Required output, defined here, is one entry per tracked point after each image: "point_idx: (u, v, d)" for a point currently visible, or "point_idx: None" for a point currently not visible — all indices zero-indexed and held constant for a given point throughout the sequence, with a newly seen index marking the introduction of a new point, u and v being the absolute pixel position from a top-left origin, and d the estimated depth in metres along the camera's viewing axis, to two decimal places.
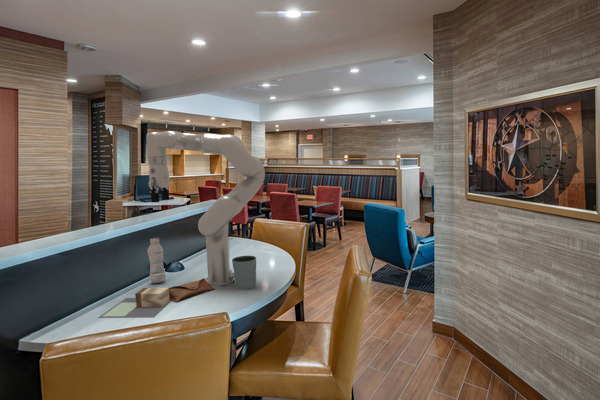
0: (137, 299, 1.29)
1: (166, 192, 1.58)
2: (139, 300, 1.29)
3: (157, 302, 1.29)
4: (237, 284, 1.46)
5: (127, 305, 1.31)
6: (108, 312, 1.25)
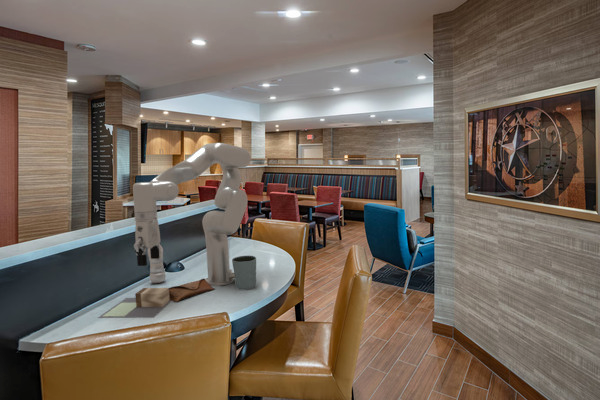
0: (137, 299, 1.29)
1: (156, 250, 1.34)
2: (139, 300, 1.29)
3: (157, 302, 1.29)
4: (237, 284, 1.46)
5: (127, 305, 1.31)
6: (108, 312, 1.25)
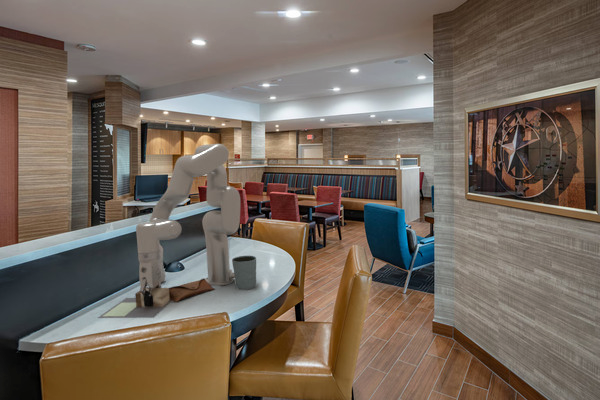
0: (137, 299, 1.29)
1: None
2: (139, 300, 1.29)
3: (157, 302, 1.29)
4: (237, 284, 1.46)
5: (127, 305, 1.31)
6: (108, 312, 1.25)
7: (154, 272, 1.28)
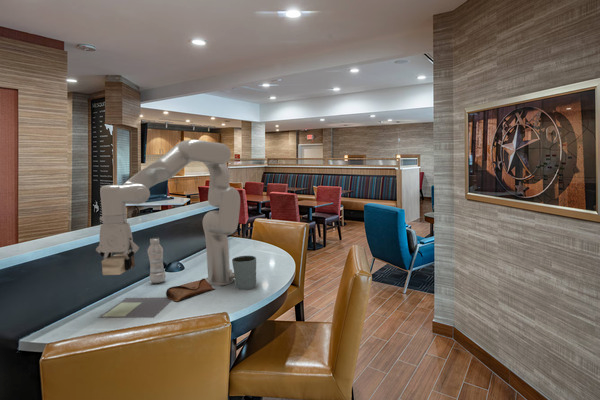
0: None
1: None
2: None
3: None
4: (237, 284, 1.46)
5: (127, 305, 1.31)
6: (108, 312, 1.25)
7: (104, 237, 1.23)
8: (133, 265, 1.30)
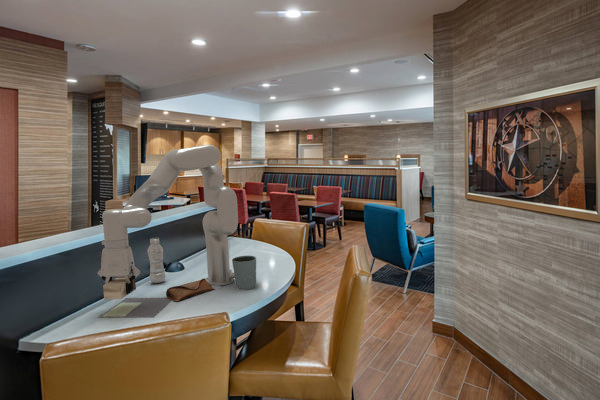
0: None
1: None
2: None
3: None
4: (237, 284, 1.46)
5: (127, 305, 1.31)
6: (108, 312, 1.25)
7: (106, 261, 1.23)
8: (134, 288, 1.31)
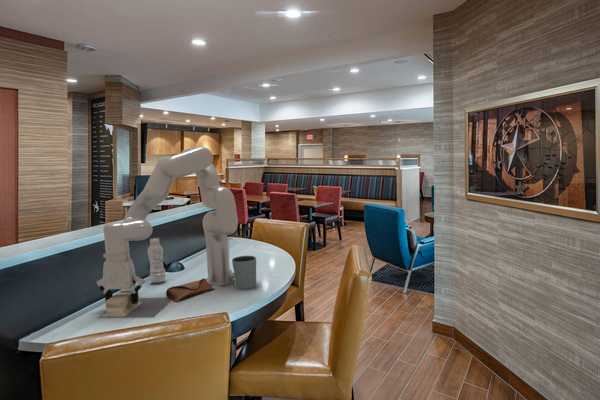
0: None
1: None
2: None
3: None
4: (237, 284, 1.46)
5: None
6: None
7: (107, 274, 1.24)
8: (136, 302, 1.32)
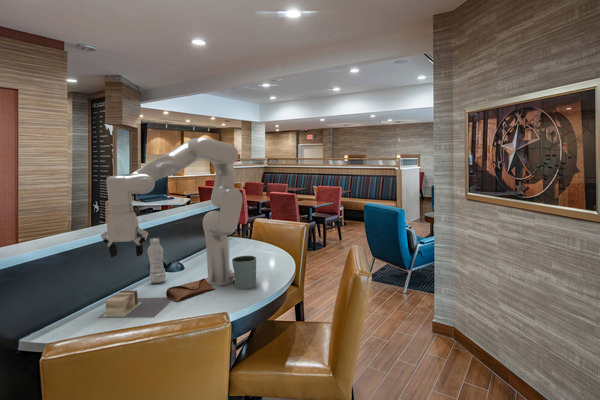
0: None
1: None
2: None
3: None
4: (237, 284, 1.46)
5: None
6: None
7: (111, 226, 1.25)
8: (136, 302, 1.32)
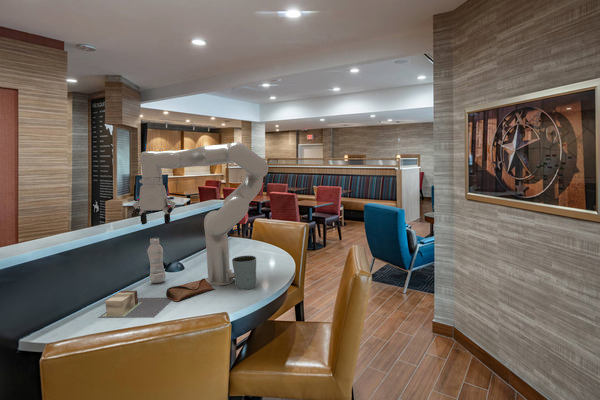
0: None
1: None
2: None
3: None
4: (237, 284, 1.46)
5: None
6: None
7: (143, 196, 1.41)
8: (136, 302, 1.32)
